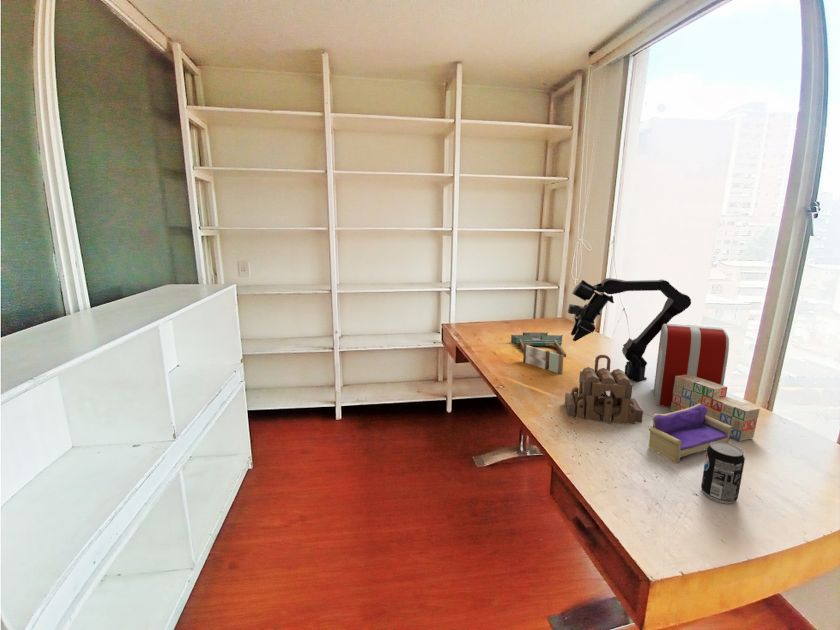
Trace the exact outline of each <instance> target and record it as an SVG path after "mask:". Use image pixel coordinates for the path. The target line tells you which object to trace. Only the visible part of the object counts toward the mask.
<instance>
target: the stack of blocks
mask: <svg viewBox="0 0 840 630" xmlns="http://www.w3.org/2000/svg"><path fill="white" fill-rule="evenodd" d="M727 392H728V386H727V385H726V386H725V385H724V384H723V385H720V384H717V383H714V382H711V381H708V380H705V379H702V378H699V377H696V376H690V375H679V376H676V377H675V384H674V389H673V397H672V403H671V407H670V411H671V412H675V411H679V410H683V409H686V408H690V407H693V406H695V405H697V404H699V403H700V404H703V405H704V406H705V407H706V408H707V413H706V416H708V417H710V418H713V419H715V420H718V421H720V422H722V423H725V424H727V425H730V426H732V431H731V432H730V437H729V438H732V439H734V440H737V441H739V442H742V441H746V440H751V439H754V437H755V431H756V428H757V423H758V418H759V416H760V415H759V414H760V410H761V409H760V408H759V407H756V406H753V405H751V404H748V403H746V402H743V401H739V400H738V399H734V398H732V397H729V396H727Z"/></svg>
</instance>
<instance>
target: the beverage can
mask: <svg viewBox="0 0 840 630" xmlns="http://www.w3.org/2000/svg"><path fill="white" fill-rule="evenodd" d="M704 458H705V459H704V466H703V471H702V479H701V485H700V487H701V491H702V492H703V493H704V495H706V497H708V499H709V498H710V499H711V500H712V501H714V502H717V503H721V504H728V505H729V504H732V503H735V502H737V501H738V499H739V494H740V489H741V483H742V478H743V471H744V466H745V461H746V460H745V459H746V458H745V456H744V451H743V449H741V448H740V447H738V445H737V446H736V445H735V444H733V443H726V442H721V441H714V442H711V443H710V446H709V447H708V448H707V449H706V453H705V457H704Z"/></svg>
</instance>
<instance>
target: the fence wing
mask: <svg viewBox="0 0 840 630" xmlns="http://www.w3.org/2000/svg"><path fill="white" fill-rule="evenodd" d="M563 368H564V357H563V355H560V353H555V352H553V351H550V355H549V370H548V371H550V372H554V373H556V374H558V375H563V371H564V369H563Z"/></svg>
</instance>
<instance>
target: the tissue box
mask: <svg viewBox="0 0 840 630" xmlns="http://www.w3.org/2000/svg"><path fill="white" fill-rule="evenodd" d="M729 350H730V339H729V335H728V333H727V331H726V330H725V329H724V328H722V327H711V326H700V325H695V324H675V323H674V324H673V323H667V324H663V325H662V329H661V331H660V335H659V342H658V353H657V360H656V367H655V368H656V369H655V376H654V377H655V378H654V384H653V391H654V398H655V404H656V406H661V407H665V408H671V403H672V397H673V389H674V384H675V377H676V376H679V375H690V376H696V377H699V378H702V379H705V380H708V381H711V382H714V383H717V384H720V385H723V386H724V384H725V383H724V382H725V377H726V370H727V363H728V357H729Z"/></svg>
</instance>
